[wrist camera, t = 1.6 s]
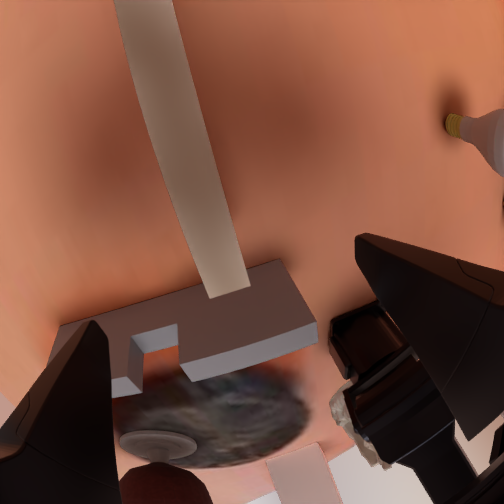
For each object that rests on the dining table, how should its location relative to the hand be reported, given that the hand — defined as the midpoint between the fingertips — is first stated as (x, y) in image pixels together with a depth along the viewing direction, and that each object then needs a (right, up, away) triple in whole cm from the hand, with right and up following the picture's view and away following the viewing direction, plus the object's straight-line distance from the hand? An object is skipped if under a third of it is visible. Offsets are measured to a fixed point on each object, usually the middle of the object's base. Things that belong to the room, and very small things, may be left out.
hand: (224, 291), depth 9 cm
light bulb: (+18, +13, +10) cm, 24 cm away
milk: (+11, -44, +42) cm, 62 cm away
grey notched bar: (-6, -3, +13) cm, 14 cm away
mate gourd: (-13, -28, +26) cm, 40 cm away
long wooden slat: (-4, +10, +6) cm, 12 cm away
